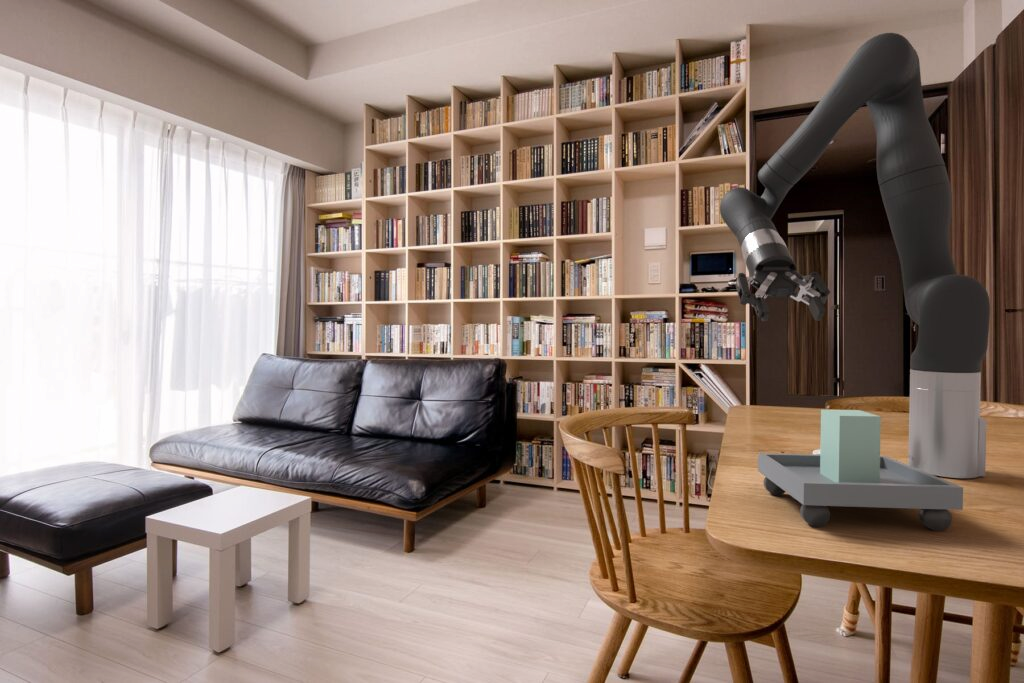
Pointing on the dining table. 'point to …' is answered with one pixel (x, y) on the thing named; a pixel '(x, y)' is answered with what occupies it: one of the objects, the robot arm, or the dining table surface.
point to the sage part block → (850, 446)
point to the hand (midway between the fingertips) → (793, 317)
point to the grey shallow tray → (860, 489)
